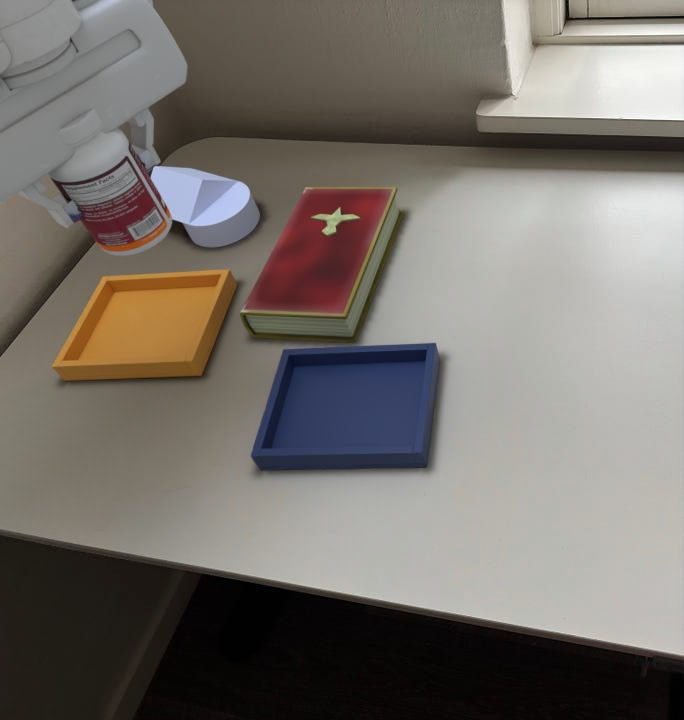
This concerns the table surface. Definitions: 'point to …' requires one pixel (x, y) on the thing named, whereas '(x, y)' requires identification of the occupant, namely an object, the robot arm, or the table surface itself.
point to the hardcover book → (325, 265)
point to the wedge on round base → (207, 204)
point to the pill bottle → (111, 188)
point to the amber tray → (148, 326)
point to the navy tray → (349, 408)
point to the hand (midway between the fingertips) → (111, 193)
